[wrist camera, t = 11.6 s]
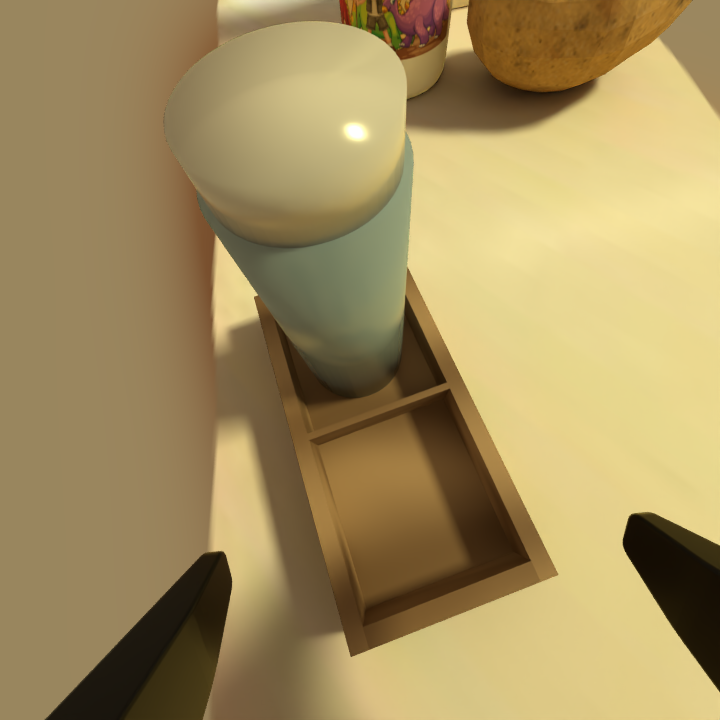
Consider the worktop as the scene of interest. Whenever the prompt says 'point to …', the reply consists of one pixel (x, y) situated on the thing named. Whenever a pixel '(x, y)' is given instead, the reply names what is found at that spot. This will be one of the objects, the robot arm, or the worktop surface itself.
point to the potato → (563, 37)
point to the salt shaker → (308, 186)
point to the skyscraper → (459, 3)
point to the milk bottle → (407, 34)
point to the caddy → (406, 489)
